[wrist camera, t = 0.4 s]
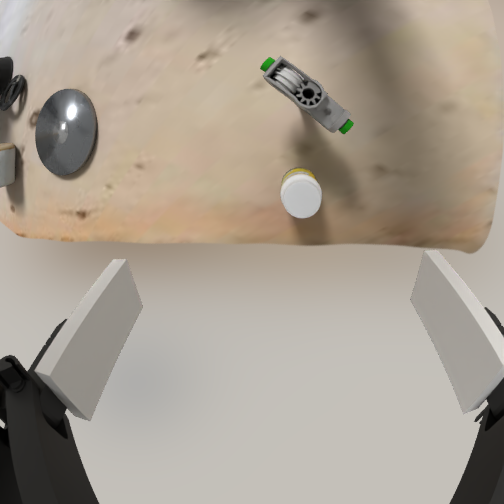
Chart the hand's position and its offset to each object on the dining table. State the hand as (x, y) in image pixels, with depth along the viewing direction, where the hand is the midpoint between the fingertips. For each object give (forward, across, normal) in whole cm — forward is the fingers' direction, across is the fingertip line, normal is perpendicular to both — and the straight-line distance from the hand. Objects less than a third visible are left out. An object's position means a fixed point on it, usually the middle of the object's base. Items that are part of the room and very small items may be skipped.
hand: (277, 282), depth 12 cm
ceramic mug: (+32, -54, +7) cm, 63 cm away
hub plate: (+30, -34, +9) cm, 46 cm away
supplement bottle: (+27, +4, -4) cm, 27 cm away
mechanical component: (+28, +4, +7) cm, 29 cm away
